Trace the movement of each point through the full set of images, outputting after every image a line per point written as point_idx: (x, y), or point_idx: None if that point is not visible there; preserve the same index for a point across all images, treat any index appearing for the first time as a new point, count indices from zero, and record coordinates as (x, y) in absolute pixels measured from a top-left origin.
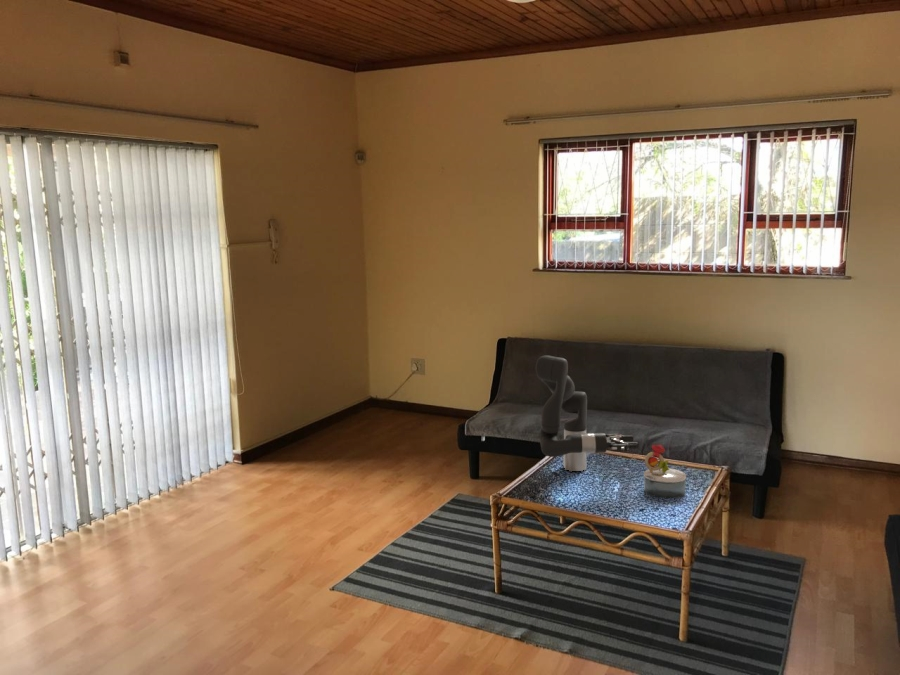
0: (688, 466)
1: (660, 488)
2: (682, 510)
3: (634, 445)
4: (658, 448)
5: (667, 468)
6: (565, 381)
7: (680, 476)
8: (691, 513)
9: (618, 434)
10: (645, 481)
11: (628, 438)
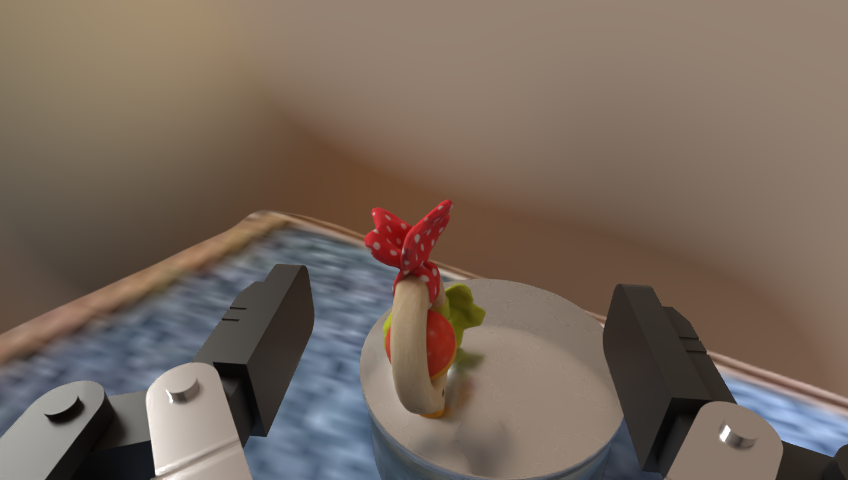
0: (203, 266)
1: (610, 447)
2: (789, 434)
3: (694, 350)
4: (422, 234)
5: (481, 315)
6: None
7: (531, 303)
8: (815, 408)
9: (82, 422)
10: None
11: (287, 335)
